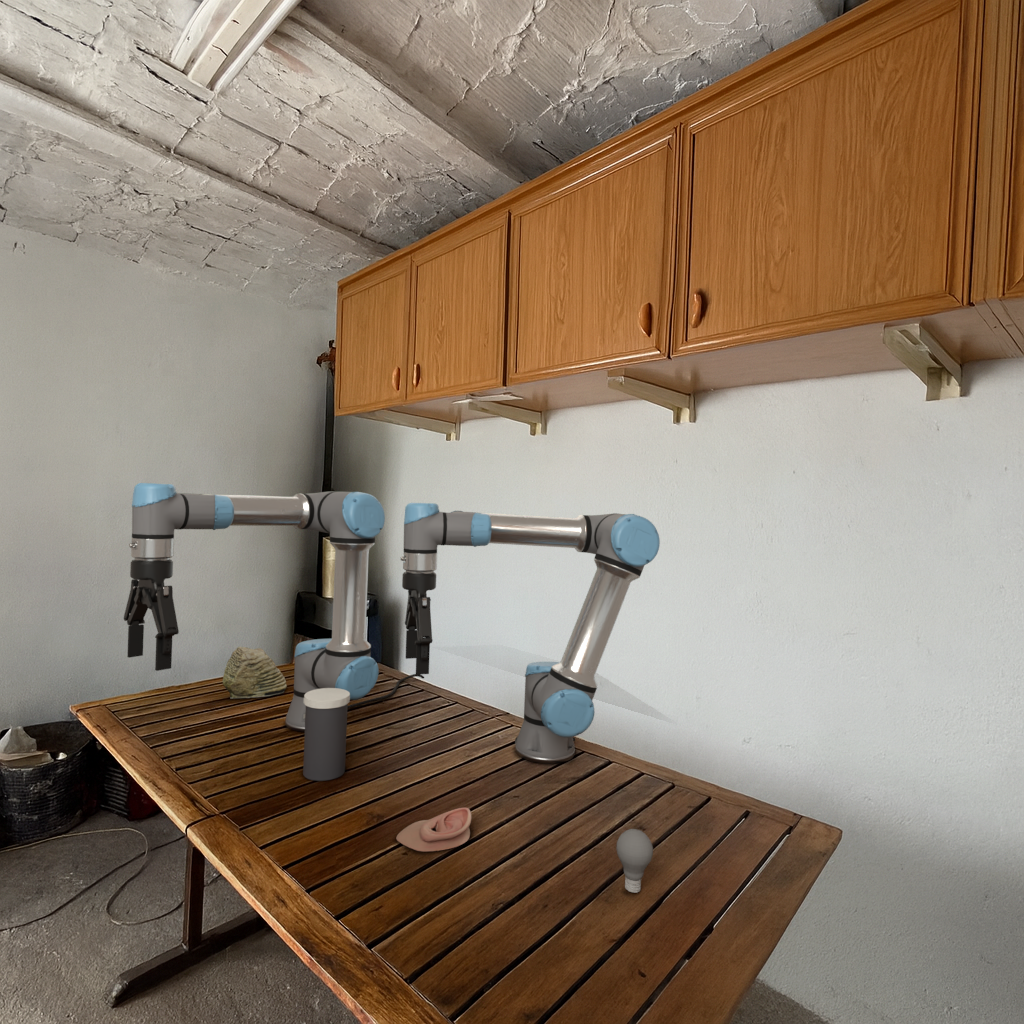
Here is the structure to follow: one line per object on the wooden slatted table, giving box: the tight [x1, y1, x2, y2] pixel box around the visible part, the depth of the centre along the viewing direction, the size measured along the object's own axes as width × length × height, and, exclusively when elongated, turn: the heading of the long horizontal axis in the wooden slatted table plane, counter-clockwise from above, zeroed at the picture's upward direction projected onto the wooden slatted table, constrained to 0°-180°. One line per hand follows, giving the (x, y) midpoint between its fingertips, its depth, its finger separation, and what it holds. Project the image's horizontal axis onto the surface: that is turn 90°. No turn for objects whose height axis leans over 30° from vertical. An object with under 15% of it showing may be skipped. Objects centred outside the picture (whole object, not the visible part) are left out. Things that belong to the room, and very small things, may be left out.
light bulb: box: [615, 828, 654, 894], centre depth 106 cm, size 6×6×10 cm
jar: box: [302, 703, 349, 782], centre depth 146 cm, size 9×9×18 cm
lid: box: [304, 688, 351, 709], centre depth 145 cm, size 10×10×2 cm
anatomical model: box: [395, 807, 472, 853], centre depth 120 cm, size 13×4×12 cm
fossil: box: [222, 646, 288, 699], centre depth 198 cm, size 9×18×15 cm, turn 132°
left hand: (148, 662), depth 129 cm, fingers open, 13 cm apart
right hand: (416, 665), depth 142 cm, fingers open, 13 cm apart
